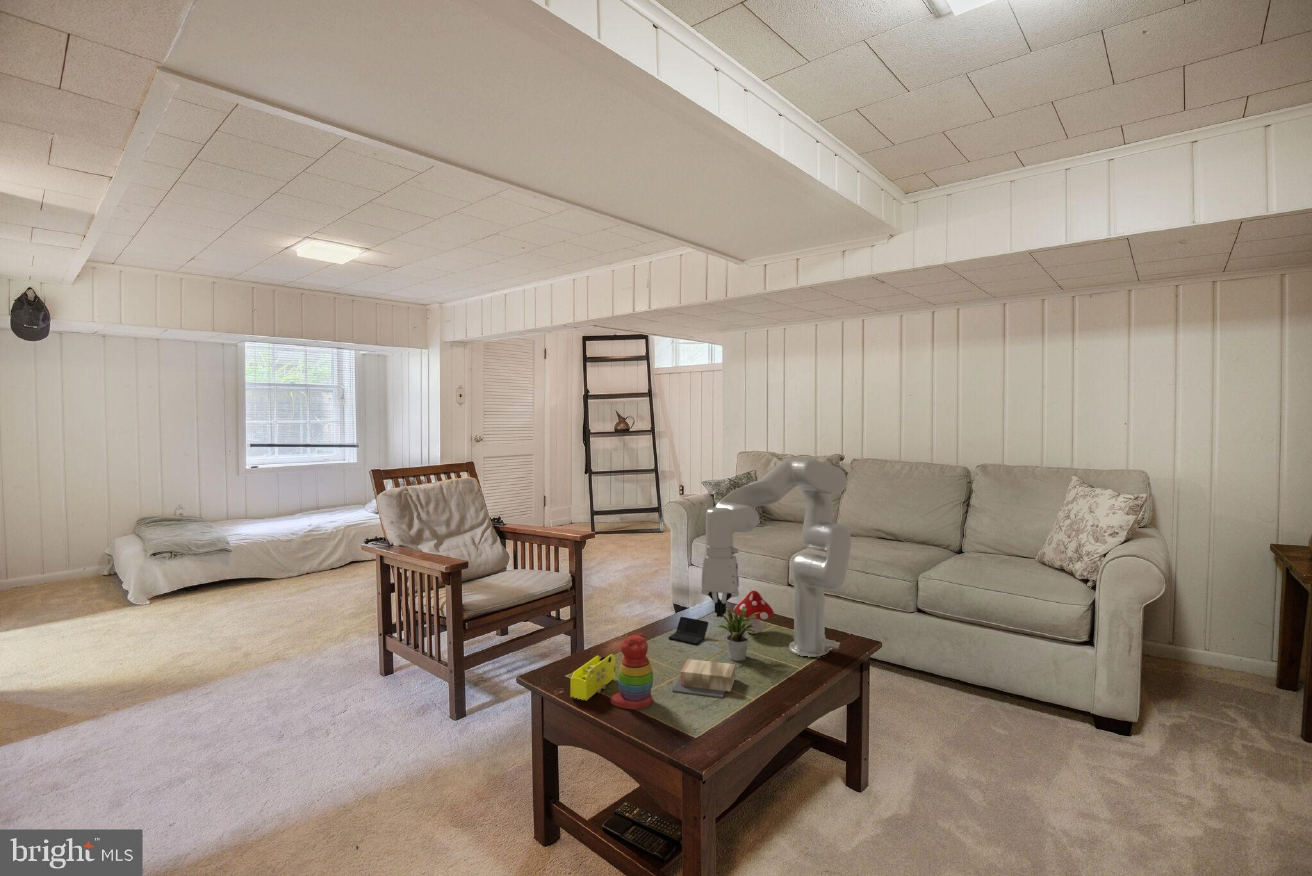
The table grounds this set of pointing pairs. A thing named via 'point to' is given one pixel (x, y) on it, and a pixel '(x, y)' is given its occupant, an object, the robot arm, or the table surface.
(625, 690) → the stacking bear
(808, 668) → the table surface
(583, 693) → the yellow toy chassis
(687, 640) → the handheld gaming console
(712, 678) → the maple block
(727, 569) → the robot arm
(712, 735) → the table surface
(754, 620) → the decorative mushroom
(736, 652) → the house plant
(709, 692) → the mat
